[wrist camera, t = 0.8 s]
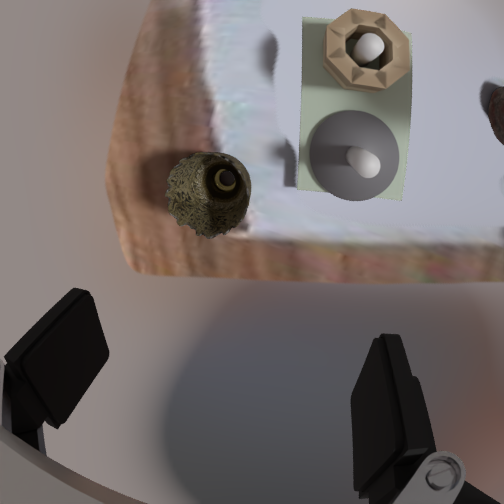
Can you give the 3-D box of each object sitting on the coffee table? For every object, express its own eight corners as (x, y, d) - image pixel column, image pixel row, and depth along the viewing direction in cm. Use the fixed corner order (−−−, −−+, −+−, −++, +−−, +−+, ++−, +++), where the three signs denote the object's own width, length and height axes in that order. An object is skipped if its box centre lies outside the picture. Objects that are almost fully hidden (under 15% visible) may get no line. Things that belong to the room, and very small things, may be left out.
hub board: (302, 21, 24) (301, -8, 16) (406, 36, 22) (435, 16, 15) (297, 191, 31) (294, 214, 24) (396, 201, 30) (421, 227, 23)
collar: (323, 22, 22) (326, 5, 18) (392, 33, 21) (408, 19, 17) (322, 87, 25) (326, 80, 21) (393, 96, 24) (409, 93, 20)
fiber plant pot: (183, 186, 33) (150, 207, 26) (216, 131, 30) (189, 136, 23) (237, 223, 34) (219, 254, 27) (275, 170, 31) (266, 186, 24)
